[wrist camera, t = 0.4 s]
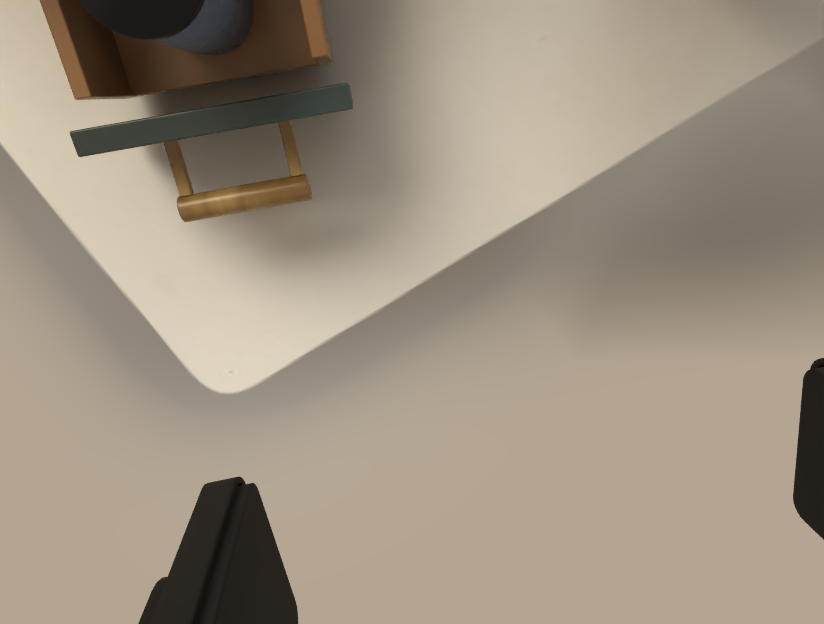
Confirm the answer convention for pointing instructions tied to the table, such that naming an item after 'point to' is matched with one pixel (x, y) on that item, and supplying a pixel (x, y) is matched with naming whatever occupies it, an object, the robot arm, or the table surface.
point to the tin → (178, 22)
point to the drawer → (176, 69)
